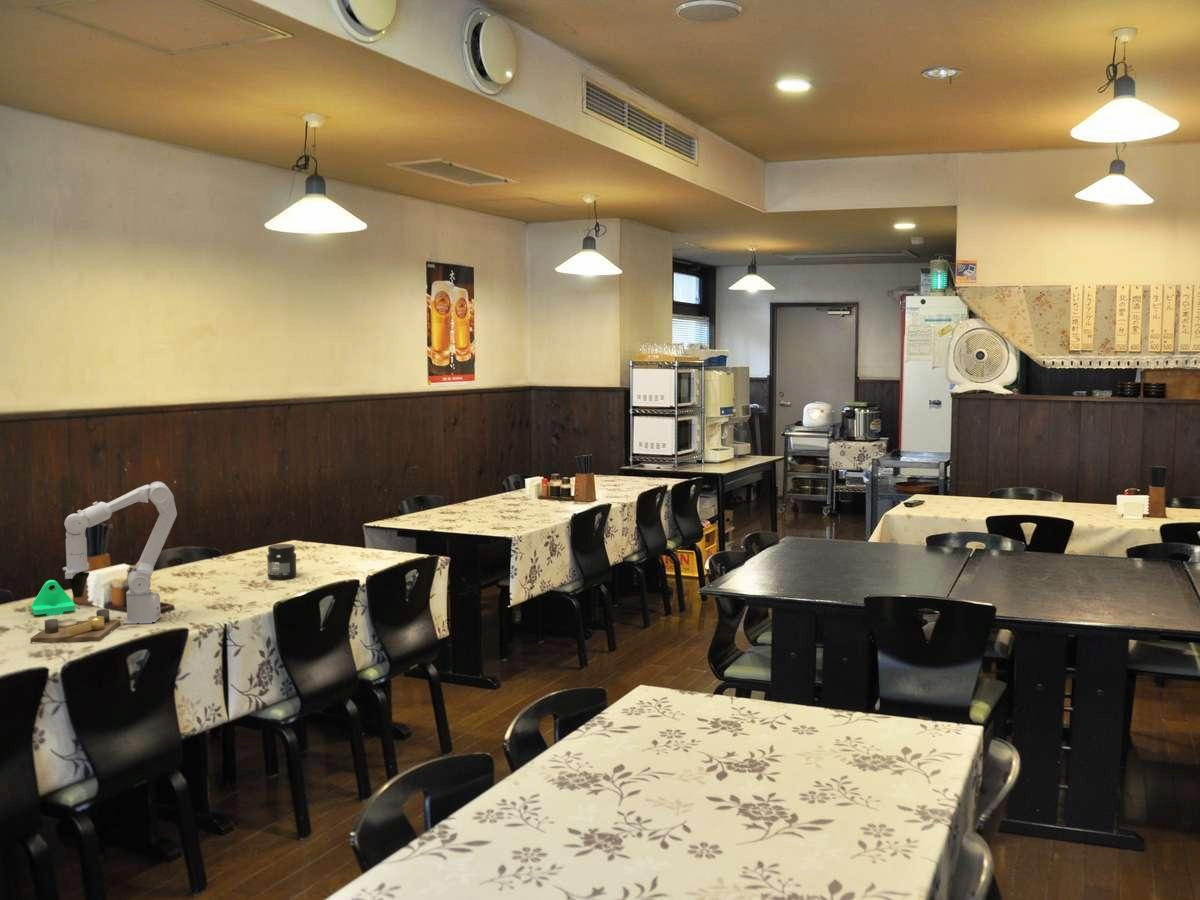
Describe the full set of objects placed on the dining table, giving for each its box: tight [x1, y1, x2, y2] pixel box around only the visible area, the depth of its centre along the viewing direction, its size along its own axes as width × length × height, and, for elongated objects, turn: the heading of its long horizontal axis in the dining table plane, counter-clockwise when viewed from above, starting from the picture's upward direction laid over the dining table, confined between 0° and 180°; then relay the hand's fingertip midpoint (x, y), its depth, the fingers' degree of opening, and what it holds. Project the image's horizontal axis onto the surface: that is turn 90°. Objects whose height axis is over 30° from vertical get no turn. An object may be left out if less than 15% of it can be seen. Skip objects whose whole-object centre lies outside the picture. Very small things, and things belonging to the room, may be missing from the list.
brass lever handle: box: [66, 615, 105, 636], centre depth 320 cm, size 12×4×3 cm, turn 156°
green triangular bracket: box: [30, 579, 76, 617], centre depth 349 cm, size 12×8×10 cm, turn 123°
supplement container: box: [266, 543, 298, 581], centre depth 403 cm, size 10×10×12 cm
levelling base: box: [30, 608, 121, 643], centre depth 324 cm, size 19×19×5 cm
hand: (78, 597), depth 331 cm, fingers closed
